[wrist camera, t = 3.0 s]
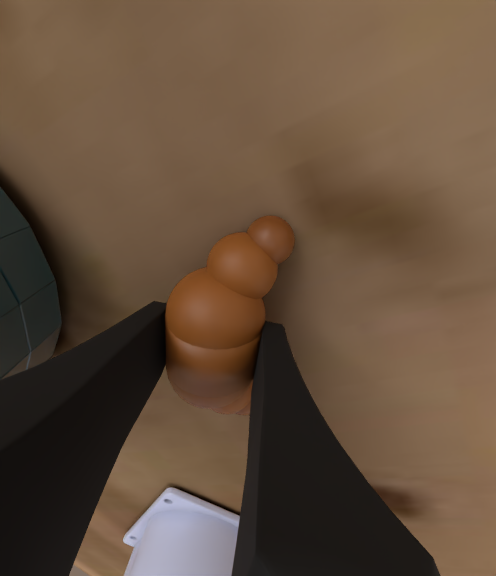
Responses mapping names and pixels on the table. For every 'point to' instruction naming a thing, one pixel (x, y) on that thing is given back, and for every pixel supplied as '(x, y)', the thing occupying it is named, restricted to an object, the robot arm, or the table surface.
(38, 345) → the bowl
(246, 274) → the croissant
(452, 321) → the table surface
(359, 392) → the table surface
